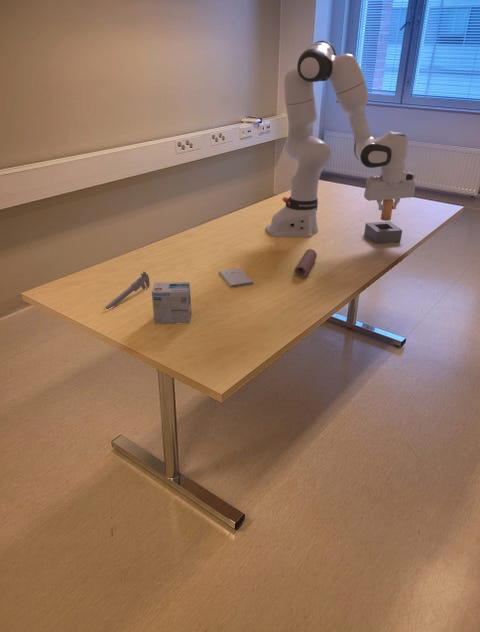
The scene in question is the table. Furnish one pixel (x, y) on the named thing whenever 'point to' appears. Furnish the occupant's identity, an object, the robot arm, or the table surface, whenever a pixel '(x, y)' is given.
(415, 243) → the table surface
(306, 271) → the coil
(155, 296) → the light bulb box
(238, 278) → the external hard drive
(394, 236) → the socket holder
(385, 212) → the peg
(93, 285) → the table surface
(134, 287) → the caliper
